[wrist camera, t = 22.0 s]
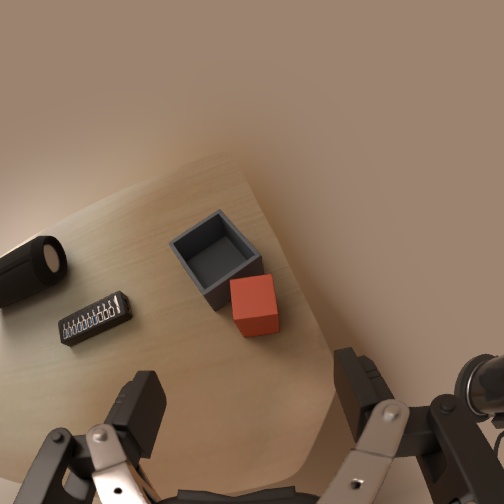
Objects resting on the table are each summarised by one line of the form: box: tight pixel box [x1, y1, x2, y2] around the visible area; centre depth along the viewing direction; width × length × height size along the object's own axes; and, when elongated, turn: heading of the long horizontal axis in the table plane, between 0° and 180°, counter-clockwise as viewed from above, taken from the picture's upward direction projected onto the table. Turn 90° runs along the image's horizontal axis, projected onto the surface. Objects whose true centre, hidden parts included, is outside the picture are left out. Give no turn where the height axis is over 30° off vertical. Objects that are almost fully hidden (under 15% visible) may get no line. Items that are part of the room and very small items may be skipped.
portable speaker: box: [0, 236, 67, 308], centre depth 42 cm, size 26×10×10 cm, turn 108°
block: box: [230, 274, 279, 337], centre depth 36 cm, size 5×5×9 cm
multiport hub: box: [58, 291, 132, 347], centre depth 41 cm, size 4×14×2 cm, turn 116°
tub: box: [168, 209, 264, 311], centre depth 41 cm, size 10×9×6 cm
